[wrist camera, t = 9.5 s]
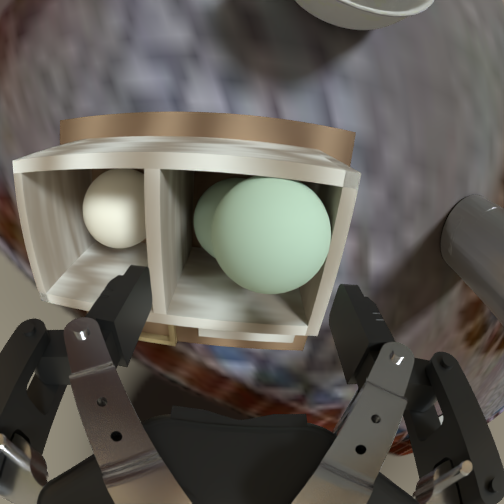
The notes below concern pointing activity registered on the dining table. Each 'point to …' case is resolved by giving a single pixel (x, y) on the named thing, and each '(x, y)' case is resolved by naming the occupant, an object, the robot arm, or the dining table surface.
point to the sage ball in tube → (210, 210)
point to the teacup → (364, 11)
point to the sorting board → (182, 219)
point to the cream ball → (116, 208)
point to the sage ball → (270, 234)
